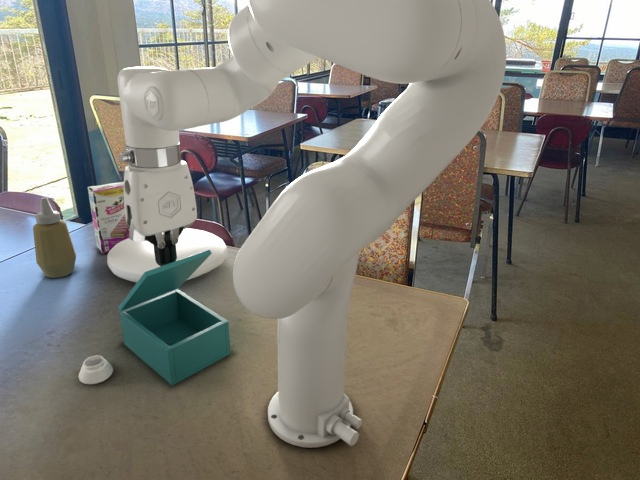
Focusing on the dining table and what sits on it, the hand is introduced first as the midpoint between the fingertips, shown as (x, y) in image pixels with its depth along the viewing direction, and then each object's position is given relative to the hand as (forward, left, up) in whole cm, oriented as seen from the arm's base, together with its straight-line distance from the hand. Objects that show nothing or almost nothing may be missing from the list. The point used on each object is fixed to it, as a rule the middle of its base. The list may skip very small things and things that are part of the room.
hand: (166, 265), depth 79 cm
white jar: (+3, +13, -17) cm, 21 cm away
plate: (+30, -17, -17) cm, 38 cm away
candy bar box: (+48, -14, -17) cm, 53 cm away
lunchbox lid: (+1, 0, -4) cm, 4 cm away
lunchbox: (0, 0, -16) cm, 17 cm away
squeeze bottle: (+44, +3, -17) cm, 47 cm away
